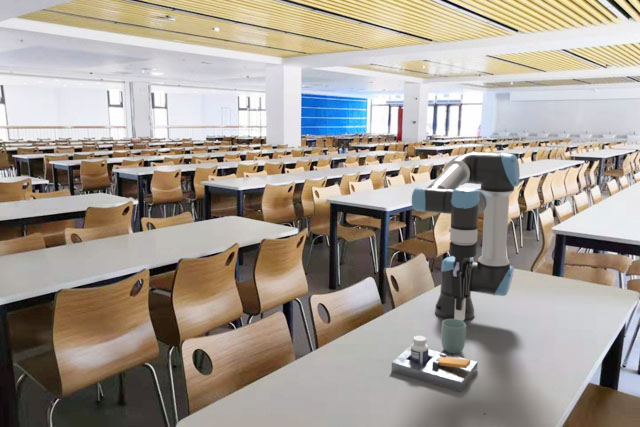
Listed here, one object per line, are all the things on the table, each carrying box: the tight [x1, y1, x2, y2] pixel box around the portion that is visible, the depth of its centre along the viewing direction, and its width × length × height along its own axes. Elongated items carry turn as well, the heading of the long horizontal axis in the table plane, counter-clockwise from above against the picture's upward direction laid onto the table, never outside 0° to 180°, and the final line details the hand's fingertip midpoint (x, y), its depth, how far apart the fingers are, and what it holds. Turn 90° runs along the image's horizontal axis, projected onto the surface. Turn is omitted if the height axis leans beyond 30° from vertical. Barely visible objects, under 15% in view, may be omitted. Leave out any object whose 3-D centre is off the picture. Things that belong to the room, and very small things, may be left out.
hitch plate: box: [391, 345, 478, 393], centre depth 160 cm, size 15×22×5 cm
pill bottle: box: [410, 335, 429, 365], centre depth 162 cm, size 5×5×10 cm
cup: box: [440, 318, 467, 355], centre depth 172 cm, size 8×8×10 cm
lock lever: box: [436, 356, 471, 368], centre depth 156 cm, size 4×10×1 cm, turn 56°
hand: (459, 318), depth 153 cm, fingers closed
